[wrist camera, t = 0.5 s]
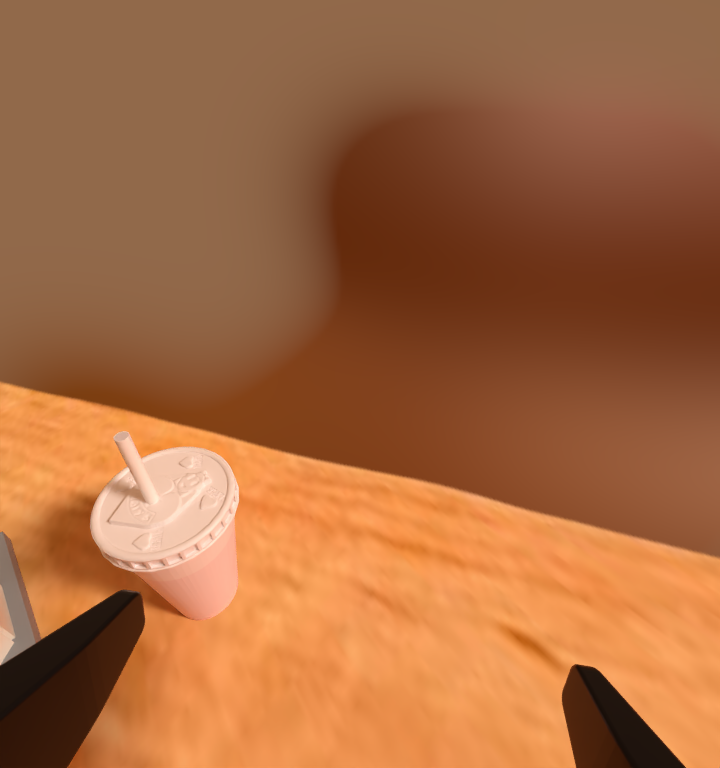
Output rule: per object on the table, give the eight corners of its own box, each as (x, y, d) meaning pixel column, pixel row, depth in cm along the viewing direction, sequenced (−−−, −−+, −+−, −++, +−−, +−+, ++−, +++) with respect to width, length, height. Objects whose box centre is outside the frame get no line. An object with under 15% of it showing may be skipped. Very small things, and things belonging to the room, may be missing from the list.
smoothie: (139, 576, 25) (33, 416, 16) (235, 523, 28) (190, 365, 19) (170, 674, 21) (51, 533, 12) (277, 599, 24) (245, 445, 15)
